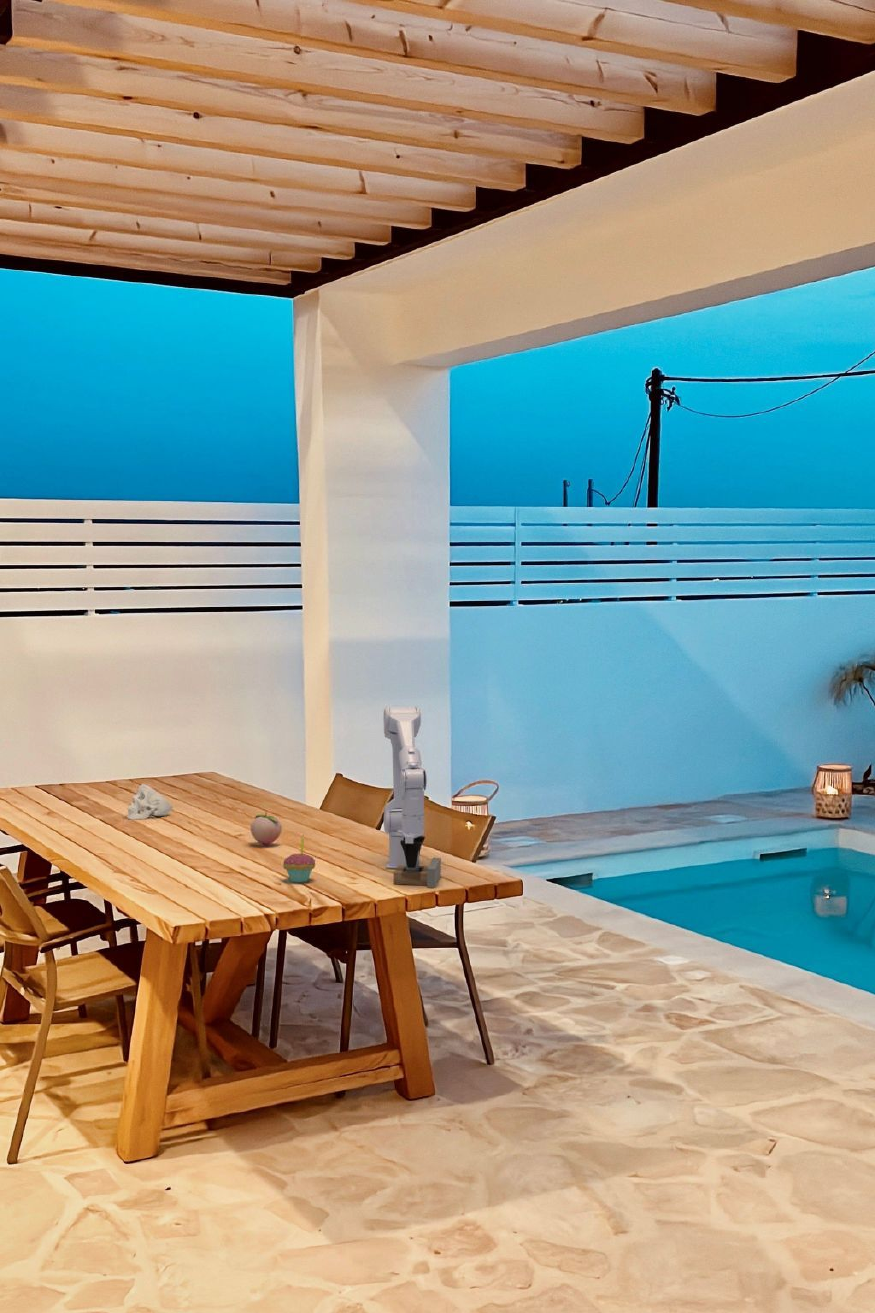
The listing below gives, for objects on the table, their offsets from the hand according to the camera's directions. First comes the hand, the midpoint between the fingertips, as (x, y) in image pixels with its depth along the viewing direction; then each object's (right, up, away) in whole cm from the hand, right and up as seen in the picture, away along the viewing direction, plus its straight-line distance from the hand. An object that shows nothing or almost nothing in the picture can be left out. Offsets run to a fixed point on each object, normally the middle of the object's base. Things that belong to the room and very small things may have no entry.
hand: (412, 865), depth 348 cm
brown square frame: (0, -4, 0) cm, 4 cm away
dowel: (0, -2, 0) cm, 2 cm away
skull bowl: (-89, +1, +92) cm, 128 cm away
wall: (+6, -4, 0) cm, 7 cm away
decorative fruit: (-45, -2, +45) cm, 64 cm away
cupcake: (-30, -4, 0) cm, 30 cm away
